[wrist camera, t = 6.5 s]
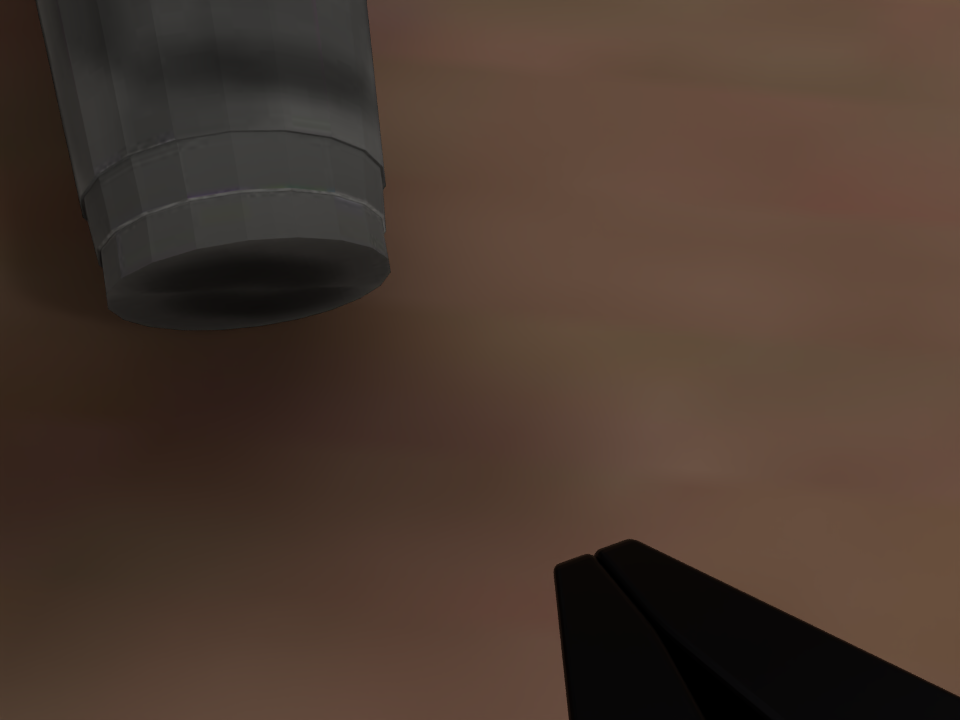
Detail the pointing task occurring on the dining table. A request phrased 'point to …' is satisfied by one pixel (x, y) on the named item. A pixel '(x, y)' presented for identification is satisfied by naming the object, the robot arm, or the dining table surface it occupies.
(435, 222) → the dining table surface
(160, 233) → the beverage cup
